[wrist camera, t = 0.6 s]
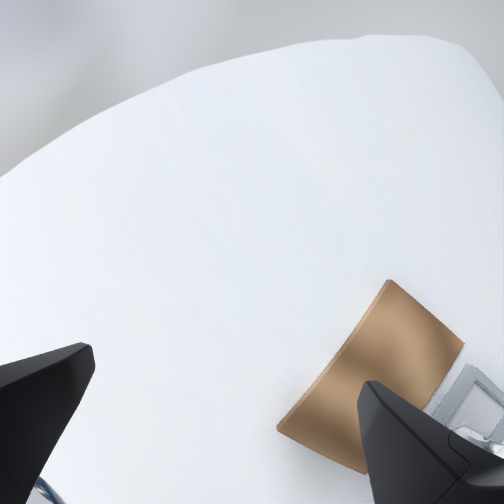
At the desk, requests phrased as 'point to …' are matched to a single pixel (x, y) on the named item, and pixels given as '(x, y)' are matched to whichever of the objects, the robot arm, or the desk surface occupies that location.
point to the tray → (461, 390)
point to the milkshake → (481, 441)
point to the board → (373, 374)
